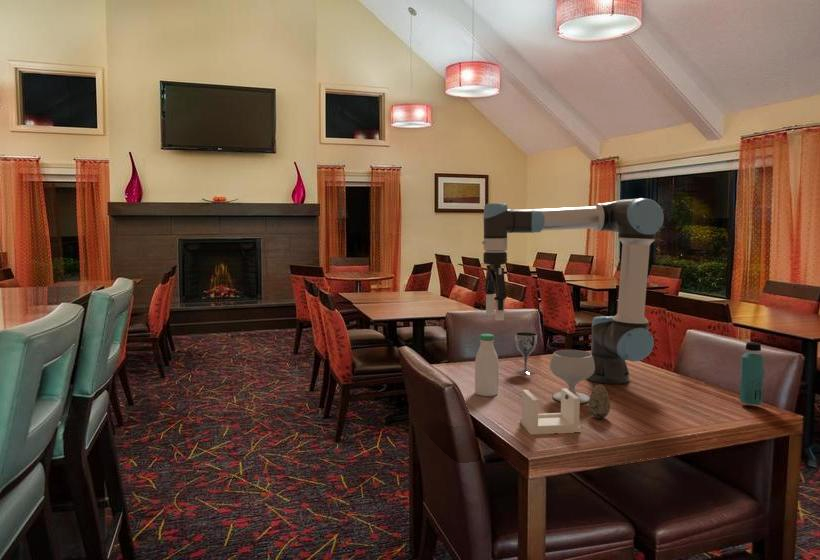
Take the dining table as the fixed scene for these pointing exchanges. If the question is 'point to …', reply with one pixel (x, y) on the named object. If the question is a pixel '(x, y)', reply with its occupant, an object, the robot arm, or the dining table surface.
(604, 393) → the decorative egg
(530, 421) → the holder
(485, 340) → the milk bottle
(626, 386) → the dining table surface
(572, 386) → the chalice
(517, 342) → the wine glass
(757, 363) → the beverage bottle
